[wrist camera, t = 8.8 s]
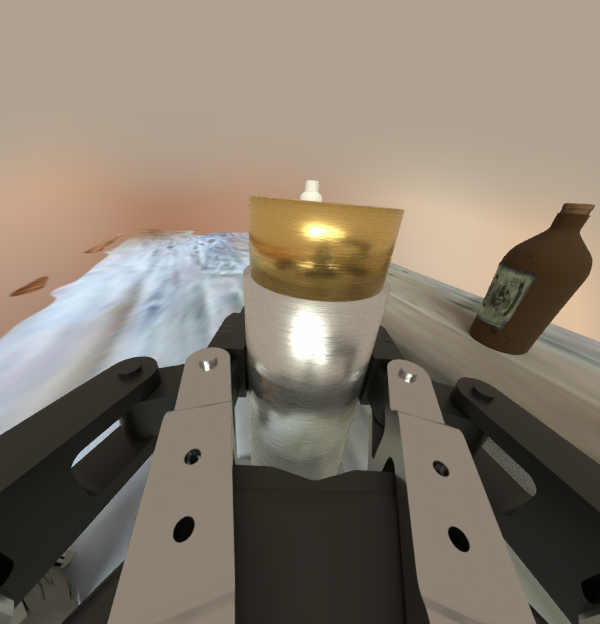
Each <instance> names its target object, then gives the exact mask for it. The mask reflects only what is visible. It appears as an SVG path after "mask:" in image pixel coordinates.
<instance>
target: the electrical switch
mask: <svg viewBox="0 0 600 624" xmlns="http://www.w3.org/2000/svg"><path fill="white" fill-rule="evenodd" d="M75 554H76V552H75V550H74V549H73V548H72V546H70V547H69V548H68V549H67V550H66V551H65V553H64V554H63V555H62V556H61V557H60V558H59V559H58V560H57V562H56V563H55V564H54V565H53V566H52V567H51V568H50V569H49V571H48V572H47V573H46V574H45V575H44V576H43V577H42V578H41V580H40V581H39V582H38V583H37V584H36V585H35V586H34V587H33V589H32V590H31V591H30V592H29V593H28V594H27V595H26V596H25V598H24V599H23V600H22V601H21V602H20V603H19V604H18V606H17V607H16V608H15V609H14V611H13V616H12V619H11V622H10V624H61V623H62V622H63V621H64V620H65V619H66V618H67V617H68V616H69V615H70V614H71V613H72V612H73V611H74V610H75V609H76V608H77V607H78V604H77V603H76V601H75V599H74V598H73V596H72V594H71V592H70V590H71V587H72V585H71V584H70V583H69V582H68V581H67V579H66V577H65V576H64V574H63V571H62V569H63V568H64V567H65V566H66V565H67V564H68V563H69V562H70V561H71V560H72V558H73V557H74V555H75Z"/></svg>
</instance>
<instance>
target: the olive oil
mask: <svg viewBox="0 0 600 624" xmlns="http://www.w3.org/2000/svg"><path fill="white" fill-rule="evenodd" d="M594 207H595V205H591V204H575V203H574V204H573V203H566V204H564V205H563V207H562V210H561V212H560V213H558V214H557V216H556V217H555V219H554V221H553V223H552V225H551V227H550V228H549V229H548V230H546V231H544V232H543V233H540V234H539V235H536V236H534V237H532V238H530V239H528V240H526V241H524V242H522V243H520V244H519V245H517V246H515V247H514V248H513V249H511V250H510V251H509V252H508V253H507V254H506V256H504V258H503V259H502V261H501V263H499V266H498V269H497V271H496V274H495V276H494V278H493V280H492V283H491V285H490V287H489V289H488V292H487V294H486V296H485V298H484V300H483V303H482V305H481V307H480V309H479V311H478V314H477V316H476V318H475V320H474V322H473V324H472V326H471V328H470V334H471V336H472V337H473V338H474V339H476V340H477V341H479V342H480V343H482V344H484V345H486V346H488V347H490V348H492V349H495V350H498V351H501V352H504V353H509V354H515V355H521V354H525V353H527V351H528V350H529V349H530V348H531V346H532V345H533V344H534V343H535V341H536V340H537V339H538V337H539V336H540V335H541V334H542V332H543V331H544V330H545V328H546V327H547V326H548V325H549V324H550V322H551V321H552V320H553V319H554V317H555V316H556V315H557V314H558V313H559V311H560V310H561V309H562V308H563V306H564V305H565V304H566V303H567V301H568V300H569V299H570V298H571V297H572V296H573V294H574V293H575V292H576V291H577V290H578V288H579V287H580V286H581V285H582V284H583V282H584V281H585V280H586V278H587V277H588V276H589V274H590V271H591V267H592V257H591V254H590V252H589V251H588V249H587V247H586V245H585V243H584V242H583V240H582V238H581V236H580V230H581V228H582V227H583V225H584V224H585V223H586V221H587V219H588V218H589V217H590V216H589V213H590V212H591V211H592V210H593V209H594Z"/></svg>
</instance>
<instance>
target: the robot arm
mask: <svg viewBox="0 0 600 624" xmlns="http://www.w3.org/2000/svg"><path fill="white" fill-rule="evenodd" d="M247 391H248V375H247V353H246V330H245V308H244V307H243V309H242V311H241V313H232V314H231V315H229V316H228V317H226V318H225V320H224V321H223V323H222V325H221V326H220V328H219V330H218V331H217V333H216V334H215V336H214V337H213V339H212V341H211V342H210V344H209V345H208V347H207V348H205V349H201V350H198V351H196V352H195V353H193V354H192V355H190V356H189V357H188V358H187V360H186V362H185V364H182V365H177V366H171V367H164V368H158V365H157V362H156V360H154V359H153V358H150V357H134V358H130V359H126V360H123V361H121V362H119V363H117V364H115V365H113V366H111V367H110V368H108V369H107V370H105V371H103V372H102V373H100V374H98V375H97V376H95V377H94V378H92V379H90V380H89V381H87V382H86V383H84V384H82V385H81V386H79V387H77V388H76V389H74V390H73V391H71V392H69V393H68V394H66V395H64V396H63V397H61V398H60V399H58V400H56V401H55V402H53V403H52V404H50V405H48V406H47V407H45V408H43V409H42V410H40V411H39V412H37V413H35V414H34V415H32V416H31V417H29V418H27V419H26V420H24V421H22V422H21V423H19V424H18V425H16V426H14V427H13V428H11V429H10V430H8V431H6V432H5V433H3V434H1V435H0V624H10V622H11V619H12V616H13V611H14V609H15V608H16V607H17V606H18V604H19V603H20V602H21V601H22V600H23V599H24V598H25V596H26V595H27V594H28V593H29V592H30V591H31V590H32V589H33V587H34V586H35V585H36V584H37V583H38V582H39V581H40V580H41V578H42V577H43V576H44V575H45V574H46V573H47V572H48V571H49V569H50V568H51V567H52V566H53V565H54V564H55V563H56V562H57V560H58V559H59V558H60V557H61V556H62V555H63V554H64V553H65V551H66V550H67V549H68V548H69V547H70V546H71V545H72V543H73V542H74V541H75V540H76V539H77V538H78V537H79V536H80V534H81V533H82V532H83V531H84V530H85V529H86V528H87V527H88V525H89V524H90V523H91V522H92V521H93V520H94V519H95V518H96V516H97V515H98V514H99V513H100V512H101V511H102V510H103V509H104V507H105V506H106V505H107V504H108V503H109V502H110V501H111V500H112V498H113V497H114V496H115V495H116V494H117V493H118V492H119V491H120V489H121V488H122V487H123V486H124V485H125V484H126V483H127V481H128V480H129V479H130V478H131V477H132V476H133V475H134V474H135V472H136V471H137V470H138V469H139V468H140V467H141V466H142V465H143V463H144V462H145V461H146V460H147V459H148V458H149V457H150V456H151V454H152V453H153V452H154V454H153V458H152V461H151V465H150V469H149V472H148V476H147V480H146V484H145V487H144V491H143V495H142V498H141V502H140V506H139V509H138V513H137V517H136V520H135V524H134V528H133V531H132V535H131V539H130V542H129V546H128V550H127V553H126V557H125V560H124V561H123V562H122V563H121V564H120V565H119V566H118V567H117V568H116V569H115V570H114V571H113V572H112V573H111V574H110V575H109V576H108V577H107V578H106V579H105V580H104V581H103V582H102V583H101V584H100V585H99V586H98V587H97V588H96V589H95V590H94V591H93V592H92V593H91V594H90V595H89V596H88V597H87V598H86V599H85V600H84V601H83V602H82V603H81V604H80V605H79V606H78V607H77V608H76V609H75V610H74V611H73V612H72V613H71V614H70V615H69V616H68V617H67V618H66V619H65V620H64V621H63V622H62V623H61V624H548V623H547V622H546V621H545V620H544V619H543V617H542V616H541V615H540V614H539V613H538V612H537V611H536V610H535V609H534V608H533V607H532V606H531V605H530V604H529V603H528V601H527V599H526V596H525V593H524V591H523V588H522V586H521V583H520V580H519V578H518V575H517V573H516V570H515V567H514V565H513V562H512V560H511V557H510V555H509V552H508V549H507V547H506V544H505V542H504V539H505V540H506V542H507V543H508V544H509V545H510V547H511V548H512V549H513V550H514V552H515V553H516V554H517V555H518V557H519V558H520V559H521V560H522V562H523V563H524V564H525V565H526V567H527V568H528V569H529V570H530V572H531V573H532V574H533V575H534V577H535V578H536V579H537V580H538V582H539V583H540V584H541V585H542V587H543V588H544V589H545V590H546V592H547V593H548V594H549V595H550V597H551V598H552V599H553V600H554V602H555V603H556V604H557V605H558V607H559V608H560V609H561V610H562V612H563V613H564V614H565V615H566V617H567V618H568V619H569V621H570V622H571V623H572V624H600V465H599V464H598V463H597V462H595V461H594V460H593V459H591V458H590V457H588V456H587V455H586V454H584V453H583V452H582V451H580V450H579V449H578V448H576V447H575V446H573V445H572V444H571V443H569V442H568V441H567V440H565V439H564V438H563V437H561V436H560V435H558V434H557V433H556V432H554V431H553V430H552V429H550V428H549V427H547V426H546V425H545V424H543V423H542V422H541V421H539V420H538V419H537V418H535V417H534V416H532V415H531V414H530V413H528V412H527V411H526V410H524V409H523V408H522V407H520V406H519V405H517V404H516V403H515V402H513V401H512V400H511V399H509V398H508V397H507V396H505V395H504V394H502V393H501V392H500V391H498V390H497V389H495V388H494V387H492V386H491V385H489V384H487V383H485V382H482V381H480V380H477V379H473V378H461V379H459V380H458V381H457V383H456V385H455V387H452V386H448V385H445V384H441V383H438V382H434V381H431V379H430V377H429V375H428V374H427V372H426V371H425V370H424V369H423V368H421V367H420V366H418V365H416V364H414V363H412V362H410V361H406V360H405V359H404V357H403V356H402V354H401V353H400V351H399V349H398V348H397V346H396V345H395V343H393V340H392V339H391V337H390V335H389V334H388V332H387V331H386V329H385V328H383V327H382V326H381V325H380V327H379V330H378V334H377V337H376V341H375V344H374V347H373V351H372V354H371V358H370V361H369V364H368V368H367V371H366V375H365V378H364V382H363V385H362V388H361V392H360V395H359V401H360V404H364V405H371V408H372V411H371V414H370V418H369V451H368V470H367V471H361V470H353V471H350V472H346V473H342V474H339V475H335V476H331V477H328V478H324V479H320V480H310V479H307V478H304V477H302V476H299V475H296V474H293V473H290V472H287V471H284V470H282V469H279V468H276V467H273V466H254V465H237V447H236V425H235V405H236V402H237V399H238V397H246V395H247ZM118 419H119V421H120V424H121V425H120V426H119V427H118V428H117V429H115V430H114V431H113V432H112V433H111V434H110V435H109V436H107V437H106V438H105V439H104V440H103V441H102V442H101V443H99V444H98V445H97V446H96V447H95V448H94V449H93V450H91V451H90V452H89V453H88V454H87V455H86V456H85V457H83V458H82V459H81V460H80V461H79V462H78V463H77V464H75V465H74V466H73V467H72V468H71V466H72V463H73V461H74V460H75V458H76V457H77V455H78V454H79V453H80V452H81V451H82V450H83V449H84V448H85V447H86V446H88V445H89V444H90V443H91V442H92V441H93V440H95V439H96V438H97V437H98V436H99V435H101V434H102V433H103V432H104V431H105V430H106V429H108V428H109V427H110V426H111V425H112V424H114V423H115V422H116V421H117V420H118ZM488 437H490V438H491V439H492V440H493V441H494V442H495V443H496V444H497V445H498V446H499V447H501V448H502V449H503V450H504V451H505V452H506V453H507V454H508V455H509V456H510V457H511V458H512V459H513V460H514V461H515V462H517V463H518V464H519V465H520V466H521V467H522V468H523V469H524V470H525V471H526V472H527V473H528V474H529V475H530V476H531V478H532V479H533V481H534V483H535V485H536V489H537V492H536V494H535V496H534V497H533V496H531V495H530V494H528V493H527V492H526V491H525V490H524V489H523V488H522V487H521V486H520V485H519V484H518V483H517V482H516V481H515V480H514V479H513V478H512V477H511V476H510V475H509V474H508V473H507V472H506V471H505V470H504V469H503V468H502V467H501V466H500V465H499V464H498V463H497V462H496V461H495V460H494V459H493V458H492V457H491V456H490V455H489V454H488V453H487V452H486V451H485V450H484V449H483V448H482V447H481V446H482V445H483V444H484V442H485V441H486V440H487V439H488ZM503 538H504V539H503Z"/></svg>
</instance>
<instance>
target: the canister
mask: <svg viewBox="0 0 600 624" xmlns="http://www.w3.org/2000/svg"><path fill="white" fill-rule="evenodd" d="M248 209H249V248H250V265H249V266H247V267H246V268H245V270H244V272H243V285H244V308H245V330H246V353H247V375H248V398H249V421H250V443H251V465H254V466H273V467H276V468H279V469H282V470H284V471H287V472H290V473H293V474H296V475H299V476H302V477H304V478H307V479H310V480H320V479H324V478H328V477H331V476H335V475H336V474H337V470H338V467H339V464H340V460H341V457H342V453H343V450H344V446H345V443H346V440H347V436H348V433H349V429H350V426H351V423H352V419H353V416H354V412H355V409H356V405H357V402H358V399H359V395H360V392H361V388H362V385H363V382H364V378H365V375H366V371H367V368H368V364H369V361H370V358H371V354H372V351H373V347H374V344H375V341H376V337H377V334H378V330H379V327H380V323H381V320H382V317H383V313H384V310H385V306H386V303H387V299H388V296H389V293H390V285H389V283H388V282H387V281H386V280H385V279H386V275H387V272H388V268H389V264H390V260H391V257H392V253H393V250H394V246H395V242H396V239H397V235H398V232H399V228H400V224H401V220H402V217H403V213H404V210H402V209H392V208H383V207H372V206H362V205H351V204H340V203H330V202H319V201H308V200H295V199H284V198H272V197H260V196H248Z"/></svg>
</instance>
